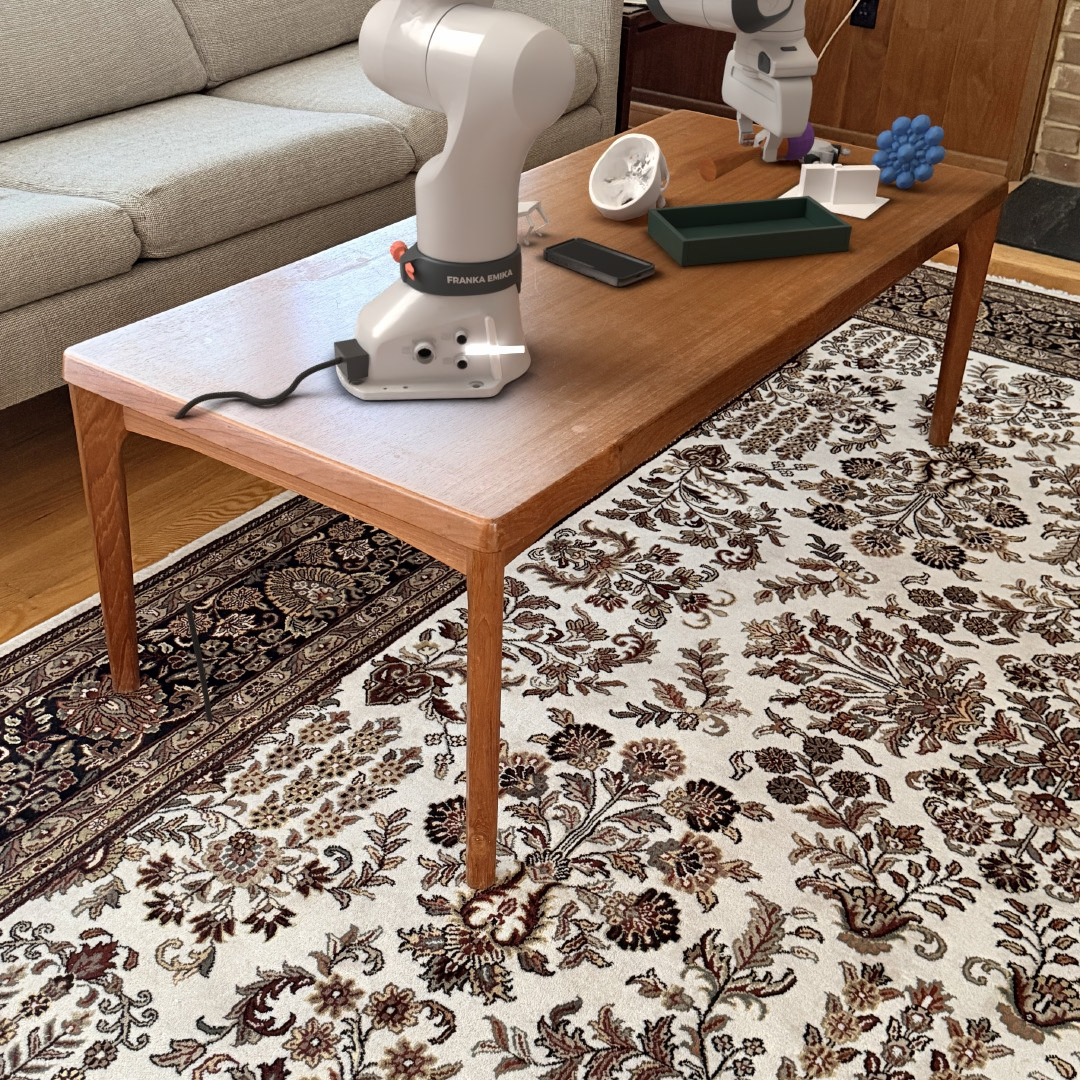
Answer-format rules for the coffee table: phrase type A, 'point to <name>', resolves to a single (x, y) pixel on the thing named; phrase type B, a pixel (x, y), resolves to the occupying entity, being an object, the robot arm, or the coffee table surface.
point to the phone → (599, 261)
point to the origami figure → (526, 209)
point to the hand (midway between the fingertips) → (756, 152)
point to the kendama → (729, 161)
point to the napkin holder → (840, 188)
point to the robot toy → (814, 151)
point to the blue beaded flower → (909, 151)
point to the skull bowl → (629, 178)
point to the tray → (747, 230)
